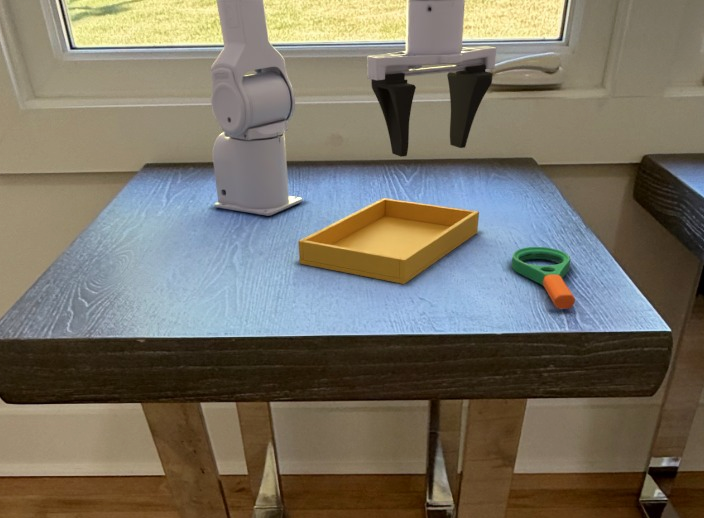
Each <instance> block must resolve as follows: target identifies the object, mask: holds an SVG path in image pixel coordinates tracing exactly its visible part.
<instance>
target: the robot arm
mask: <svg viewBox="0 0 704 518" xmlns="http://www.w3.org/2000/svg"><path fill="white" fill-rule="evenodd" d="M465 1H466V0H406V18H405V19H406V22H405V23H406V25H405V26H406V27H405V28H406V29H405V32H406V33H405V50H402V51H398V52H397V51H395V52H389V53H384V54H375V55H367V57H366V66H367V67H366V71H367V72H366V74H367V79H369V80H370V81H371V89H372V91H373V93H374V95H375V97H376V99H377V102H378V104H379V106H380V109H381V112H382V115H383V118H384V121H385V124H386V128H387V132H388V136H389V143H390V147H391V153H392V154H393V155H395V156H398V157H402V158H403V157H408V151H409V141H410V120H411V110H412V106H413V101H414V97H415V92H416V89H417V87H416V85H415V84H413V83H409V82H408V79H406V77H413V76H424V75H434V74H435V75H436V74H445V73H447V74H446V76H447V82H448V89H449V102H450V120H449V144H450V146H453V147H456V148H459V149H463V148H464V149H465V148H466V146H467V142H468V140H469V139H468V138H469V135H470V132H471V129H472V126H473V122H474V120H475V117H476V114H477V112H478V110H479V108H480V105H481V103H482V101H483V99H484V97H485V95H486V93H487V91H488V90H489V89H490V87H491V85H492V84H493V72H491V71H490V72H489V71H486V70H494V69H495V67H496V58H497V57H496V56H497V47H494V46H488V45H482V46H480V45H479V46H463V35H464V34H463V33H464V19H465V3H466V2H465ZM216 5H217V12H218V17H219V23H220V29H221V35H222V36H221V37H222V41H223V48H222V50H221V51H220V53H219V54H218V55H217V58H216V59H215V60H214V62H213V63H212V64H211V67H210V75H211V83H212V84H211V85H212V88H211V98H210V102H211V104H210V105H211V110H212V114H213V118H214V120H215V121H216V123H217V125H218V127H219V128H220V129H221V130H222V131H223V132H222V133H219V135H218V136H217V137H216V138H215V141H214V144H213V147H212V163H213V171H214V179H215V186H216V194H217V202H215V203H214V207H215V208H219V209H225V210H229V211H236V212H243V213H249V214H255V215H261V216H265V217H266V216H267V217H268V216H269V217H270V216H273V215H275V214H277V213H280V212H282V211H284V210H287V209H289V208H291V207H293V206H295V205H298V204H300V203H302V202H303V198H302V197H300V196H299V197H298V196H292V195H290V193H289V179H288V178H289V177H288V164H287V163H288V162H287V150H286V149H287V148H286V136H285V132H287V131H289V128H288V122H289V121H290V120H291V119H292V117H293V115H294V112H295V107H296V96H295V91H294V88H293V85H292V83H291V81H290V78H289V75H288V73H287V67H286V60H285V58H284V56H283V55H282V54H281V53H280V52H279V51H278V50H277V49H276V48H275V47H274V46H273V45H272V44H271V42H270V40H269V33H268V26H267V17H266V11H265V3H264V0H216ZM434 65H436V66H434ZM437 65H441V66H437ZM443 65H444V66H443ZM423 66H432V67H423ZM251 71H254V72H255V73H251V74H246V73H248V72H251ZM245 74H246V75H245Z"/></svg>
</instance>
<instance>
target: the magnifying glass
mask: <svg viewBox="0 0 704 518" xmlns="http://www.w3.org/2000/svg"><path fill="white" fill-rule="evenodd" d="M534 259H535V260H537V259H538V260H539V259H540V260H550V261H553V262H557V263H558V264H551V265H550V264H549V265H547V264H546V265H543V264H542V265H541V264H540V265H539V264H533V263H527V262H525V261H526V260H534ZM570 265H571V256H570V255H569V254H568V253H567V252H564V251H563V250H560V249H557V248H552V247H549V246H548V247H547V246H529V247H528V246H527V247H523V248H519V249H517V250H515V251H514V252H513V254H512V258H511V269H512V270H513V271H514V272H516V273H517V274H519V275H520V276H521V275H522V276H523V277H525V278H527V279H530V280H532V281H533V282H535V283H538V284H539V285H541V286H543V287H544V289H545V291H546V293H547V294H548V296H549V298H550V300H551V301H552V303H553V305H554V307H555V308H557V309H560V310H561V309H562V310H566V309H571V308H572V307H573V306H574V304H575V302H576V298H575V296H574V295H573V293H572V292H571V289H569V287H568V286H567V284H566V283H565V281H564V277H566V275H567V274H568V272H569V270H570Z"/></svg>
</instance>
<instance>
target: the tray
mask: <svg viewBox="0 0 704 518" xmlns="http://www.w3.org/2000/svg"><path fill="white" fill-rule="evenodd" d="M479 217H480V211H479V210H470V209H464V208H457V207H449V206H443V205H434V204H429V203H421V202H414V201H407V200H399V199H392V198H385V197H382V198H380V199H379V200H377V201H375V202H373V203H371V204H369V205H367V206H365V207H362V208H361V209H359V210H356V211H355V212H353V213H350V214H348V215H347V216H344V217H343V218H341V219H339V220H337V221H335V222H333V223H331V224H329V225H327V226H325V227H323V228H322V229H319V230H317V231H315V232H313V233H311V234H310V235H307V236H305V237H303V238H302V239H299V240H298V241H297V242H298V243H297V244H298V257H299V259H298V260H299V264H300V265H304V266H310V267H315V268H320V269H325V270H331V271H336V272H341V273H346V274H351V275H355V276H361V277H366V278H371V279H377V280H380V281H381V280H382V281H387V282H392V283H397V284H401V285H405V284H407V283H408V282H409V281H411V280H412V279H414V278H416V276H418V275H419V274H421V273H423V271H425V270H427V269H428V268H429V267H431V266H433V264H435V263H436V262H438V261H439V260H441V259H443V258H444V257H445V256H447V255H448V254H450V253H451V252H452V251H453V250H455V249H457V248H458V247H459V246H461V245H463V243H465V242H466V241H468V240H469V239H471V238H472V237H474V236H475V235H476V234H478V229H479Z"/></svg>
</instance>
